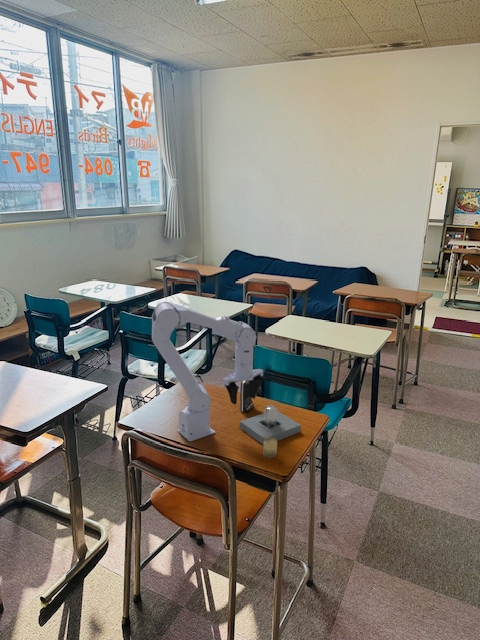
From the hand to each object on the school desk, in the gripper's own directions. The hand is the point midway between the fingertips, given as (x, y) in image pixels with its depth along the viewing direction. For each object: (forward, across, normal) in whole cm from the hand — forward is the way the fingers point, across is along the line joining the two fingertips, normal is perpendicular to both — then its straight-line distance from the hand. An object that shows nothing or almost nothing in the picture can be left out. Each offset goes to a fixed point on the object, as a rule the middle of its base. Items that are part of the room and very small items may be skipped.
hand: (243, 400), depth 143 cm
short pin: (+10, -3, -18) cm, 21 cm away
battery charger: (+10, +9, +9) cm, 16 cm away
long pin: (+9, +6, -7) cm, 13 cm away
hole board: (+9, +6, -7) cm, 13 cm away
